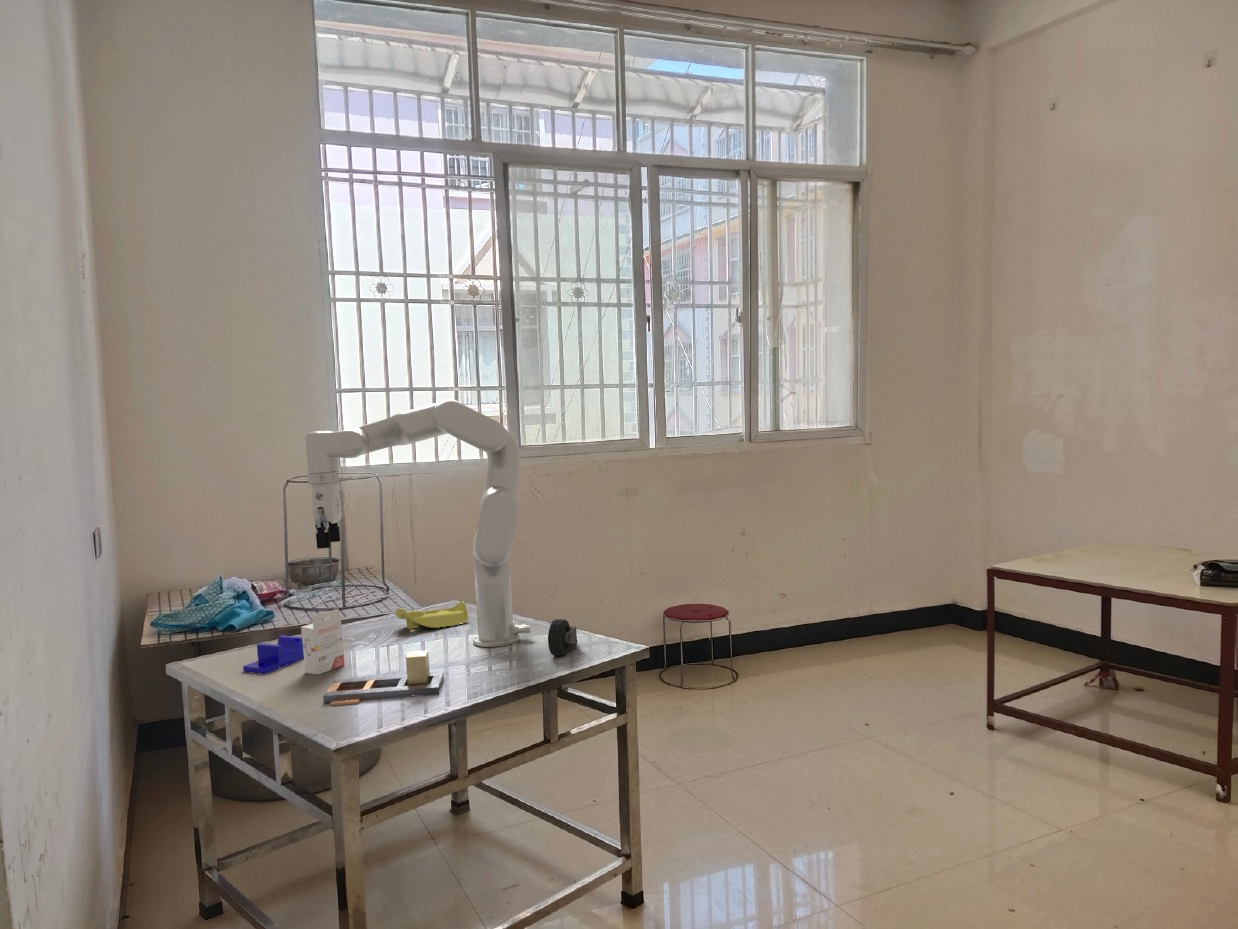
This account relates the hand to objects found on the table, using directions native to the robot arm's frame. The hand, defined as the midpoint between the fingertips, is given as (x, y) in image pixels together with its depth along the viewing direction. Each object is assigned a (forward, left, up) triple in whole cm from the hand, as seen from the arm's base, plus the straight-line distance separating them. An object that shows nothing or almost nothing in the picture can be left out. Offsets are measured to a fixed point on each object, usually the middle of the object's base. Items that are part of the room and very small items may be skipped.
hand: (329, 544), depth 216 cm
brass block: (-25, +29, -30) cm, 49 cm away
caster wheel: (-59, +9, -30) cm, 67 cm away
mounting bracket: (+14, 0, -30) cm, 33 cm away
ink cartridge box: (+1, +9, -30) cm, 31 cm away
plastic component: (-21, -27, -30) cm, 45 cm away
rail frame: (-18, +29, -30) cm, 45 cm away
